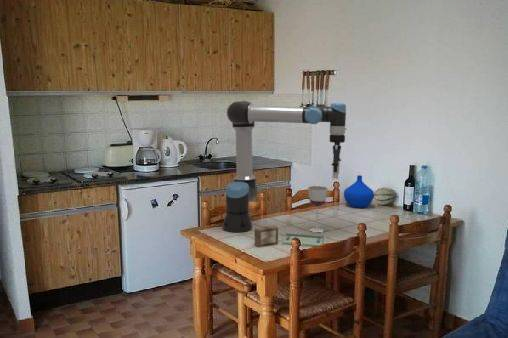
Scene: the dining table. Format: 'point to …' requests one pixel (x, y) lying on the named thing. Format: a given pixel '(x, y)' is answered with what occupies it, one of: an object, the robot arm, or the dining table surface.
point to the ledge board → (304, 239)
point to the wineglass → (317, 201)
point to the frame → (266, 236)
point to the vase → (358, 194)
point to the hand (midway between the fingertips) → (335, 176)
